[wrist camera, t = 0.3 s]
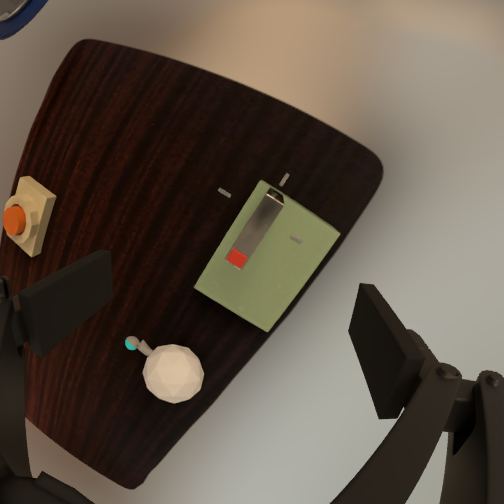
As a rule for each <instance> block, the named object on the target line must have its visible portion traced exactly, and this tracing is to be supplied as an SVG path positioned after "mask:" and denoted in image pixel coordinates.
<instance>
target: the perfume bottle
mask: <svg viewBox="0 0 504 504" xmlns="http://www.w3.org/2000/svg"><path fill="white" fill-rule="evenodd" d="M125 345H126V347H127V348H128V349H129V350H135V349H136V348H138V349H139V350H140V351H141V352H142V353H143V354H145V355H146V356H148V357H147V360H146V363H145V366H144V370H143V375H144V379H145V382H146V386H147V388H148V389H149V390H150V391H151V392H152V393H153V394H154V395H155V396H157V397H158V398H159V399H162V400H165V401H168V402H171V403H178V402H181V401H185V400H188V399H190V398H191V397H193V396H194V395H195V394H196V393H197V392H198V391H199V390H200V389H201V385H202V381H203V377H204V372H203V369H202V367H201V364H200V361H199V359H198V357H197V356H196V355H195V354H194V353H193V352H192V351H191V350H190V349H189V348H187V347H182V346H178V345H174V344H171V345H165V346H160V347H157V348H156V349H155V350H151V348H150V347H149V346H148V345H147V344H146V343H145V341H144V340H142V342H141V343H140V342H139V340H138V339H137V338H136V337H134V336H130V337H128V338H127V339H126V341H125Z"/></svg>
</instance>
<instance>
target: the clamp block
mask: <svg viewBox="0 0 504 504" xmlns="http://www.w3.org/2000/svg"><path fill="white" fill-rule="evenodd" d="M288 177H289V174H287V173H286V175H285V176H284V178H283V179H282V181H281V182H280V184H279V185H281V186H283V184H284V183H285V181H286V180H287V178H288ZM270 187H271V188H273V189H274V190H276V191H277V192H279V193H280V194H282V195H283V198H284V207H283V209H282V210H281V212H280V213H279V215H278V216H277V218H276V219H275V221H274V222H273V224H272V225H271V227H270V228H269V230H268V231H267V233H266V234H265V236H264V237H263V239H262V240H261V242H260V243H259V245H258V246H257V248H256V249H255V251H254V252H253V254H252V255H251V257H250V258H249V260H248V262H247V263H246V265H245V266H244V268H243V269H242V270H239V269H238V268H236V267H235V266H233V265H232V264H230V263H228V262H227V261H225V260H224V258H225V257H226V255H227V254H228V252H229V250H230V249H231V247H232V246H233V244H234V243H235V241H236V239H237V238H238V236H239V235H240V233H241V232H242V230H243V228H244V227H245V225H246V224H247V222H248V221H249V219H250V217H251V216H252V214H253V213H254V211H255V210H256V208H257V207H258V205H259V203H260V202H261V200H262V199H263V197H264V196H265V194H266V193H267V191H268V190H269V188H270ZM218 191H219V192H221V193H222V194H224V195H226V196H227V197H229V198H230V196H231V194H229V193H228V192H226V191H224V190H223V189H221V188H219V190H218ZM339 235H340V233H339V232H338V231H337V230H336V229H335V228H334V227H332V226H331V225H330V224H328V223H327V222H325V221H324V220H322V219H321V218H319V217H318V216H316V215H315V214H313V213H312V212H311V211H309V210H308V209H306V208H305V207H303V206H302V205H300V204H299V203H297V202H296V201H294V200H293V199H291V198H289V197H288V196H286V195H285V194H283V193H282V192H280V191H279V190H277V189H276V188H274V187H273V186H271V185H269V184H268V183H266V182H265V181H263V180H261V181H260V182H259V183H258V185H257V186H256V188H255V189H254V191H253V193H252V194H251V196H250V197H249V199H248V200H247V202H246V204H245V205H244V207H243V208H242V210H241V212H240V213H239V215H238V216H237V218H236V219H235V221H234V223H233V224H232V226H231V227H230V229H229V231H228V232H227V234H226V236H225V237H224V239H223V240H222V242H221V244H220V245H219V247H218V248H217V250H216V252H215V253H214V255H213V257H212V258H211V260H210V262H209V263H208V265H207V266H206V268H205V270H204V271H203V273H202V275H201V276H200V278H199V280H198V281H197V283H196V285H195V286H194V288H195V289H197V290H199V291H200V292H202V293H203V294H205V295H206V296H208V297H210V298H211V299H213V300H214V301H216V302H218V303H219V304H221V305H223V306H224V307H226V308H227V309H229V310H231V311H232V312H234V313H236V314H237V315H239V316H241V317H242V318H244V319H246V320H247V321H249V322H251V323H252V324H254V325H256V326H258V327H259V328H261V329H263V330H264V331H266V332H268V331H269V330H270V329H271V327H272V326H273V325H274V324H275V322H276V321H277V320H278V318H279V317H280V316H281V315H282V313H283V312H284V311H285V309H286V308H287V307H288V305H289V304H290V303H291V301H292V300H293V299H294V297H295V296H296V295H297V294H298V292H299V291H300V289H301V288H302V287H303V285H304V284H305V283H306V281H307V280H308V279H309V277H310V276H311V275H312V273H313V272H314V270H315V269H316V268H317V266H318V265H319V264H320V262H321V261H322V259H323V258H324V257H325V255H326V254H327V252H328V251H329V250H330V248H331V247H332V245H333V244H334V242H335V241H336V240H337V238H338V237H339Z"/></svg>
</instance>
